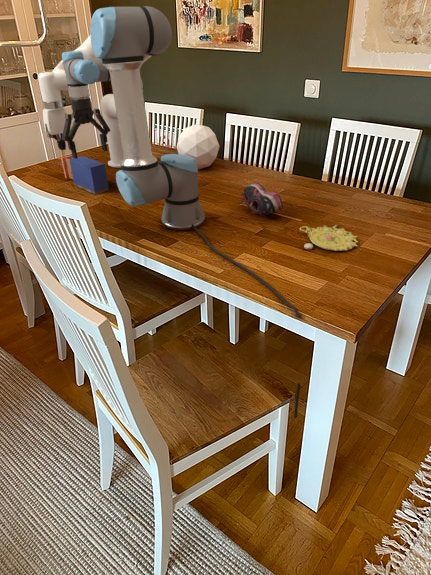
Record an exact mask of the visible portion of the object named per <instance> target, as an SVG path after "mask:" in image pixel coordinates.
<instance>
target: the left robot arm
mask: <svg viewBox="0 0 431 575" xmlns="http://www.w3.org/2000/svg"><path fill="white" fill-rule="evenodd" d="M73 51H80V52H82V53H83V57H84V59H93V58H97V57H96V56H95V54H94V52H93V49H92V45H91V37H90V35H89V36H88V37H86V39H85V40H84V41H83V42H82V43H81V45H79V46H78V47H77V48H76V49H74V50H73ZM37 81H38V86H39V90H40V94H41V98H42V105H43V109H42V121H43V127H44V131H45V133H46V136H47V138H49V139H54V140H55V141H56V144H57V148H58V149H59V150H61V151H66V150H67V145H66V143H67V142H66V141H64V140H62V134H63V130H64V125H65V120H66V119H65V114H66V113H67V110H66V108H65V107H64V105H65V104H66V100H63V98H62V94H61V91H68V86H67V81H66V76H65V71H64V66H63V60H62V59H61V60H60V62H58V63H57V65H56V66H55V67H54V69H52V71H42V72H40V73H38V74H37ZM141 81H142V82H143V80H142V79H141ZM143 85H144V84H142V88H143ZM100 112H101V115H102V117H103V119H104V120H105V122H106V123H107V125H108V127H109V128H110V132H108V134H107V147H108V152H109V157H110V160H108V161H107V165H108V167H111V168H121V166H120V163H121V161H122V160H123V158H124V154H123V148H122V142H121V136H120V130H119V125H118V119H117V113H116V107H115V101H114V95H113V93H108V94H105V95H103V96H102V98H101V99H100ZM67 114H68V113H67ZM71 128H72V126H71V127H70V130H71ZM69 132H70V131H69Z"/></svg>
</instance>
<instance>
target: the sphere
mask: <svg viewBox="0 0 431 575" xmlns="http://www.w3.org/2000/svg"><path fill="white" fill-rule="evenodd" d="M220 147H221V146H220V144H219V141H218V139H217V136H216V133H215V132H214V131H213V130H212V128H210V127H209V126H206V125H202V124H198V123H197V124H196V123H195V124H194V125H190V126H187V127H185V128H184V129H183V131H182V132H181V133H180V134H179V135H178V139H177V143H176V148H175V149H176V150H177V154H180V155H186V156H190V157H192V158H194V159H195V160H196V163H197V170H201V169H204V168H207V167H210V166H211V165H213V162H215V160H216V159H217V157H218V153H219V150H220Z"/></svg>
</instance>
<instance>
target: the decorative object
mask: <svg viewBox="0 0 431 575" xmlns="http://www.w3.org/2000/svg"><path fill="white" fill-rule="evenodd" d="M303 228H304V229H305V230H304V229H303ZM299 231H300V232H303V233H305V234H307V237H308V238H309V240H310V241H311V243H304V244H303V248H304V249H305V250H313V249H314V245H315V246H316V247H318V248H321V249H324V250H328V251H335V252H341V251H348V250H352V249H354V247H356V248H358V247H359V245H358V244H357V243H359V240H357V238H359V237H358V235H353V234H352V231H347V230H346V229H345V228H344V227H342V228H338V224H335V225H333V226H331V227H328V226H327V225H326V224H325V225H323V226H322V227H321V226H317V227H316V228H314V227H309V226H308V225H302V226H300V227H299ZM313 244H314V245H313Z"/></svg>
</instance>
